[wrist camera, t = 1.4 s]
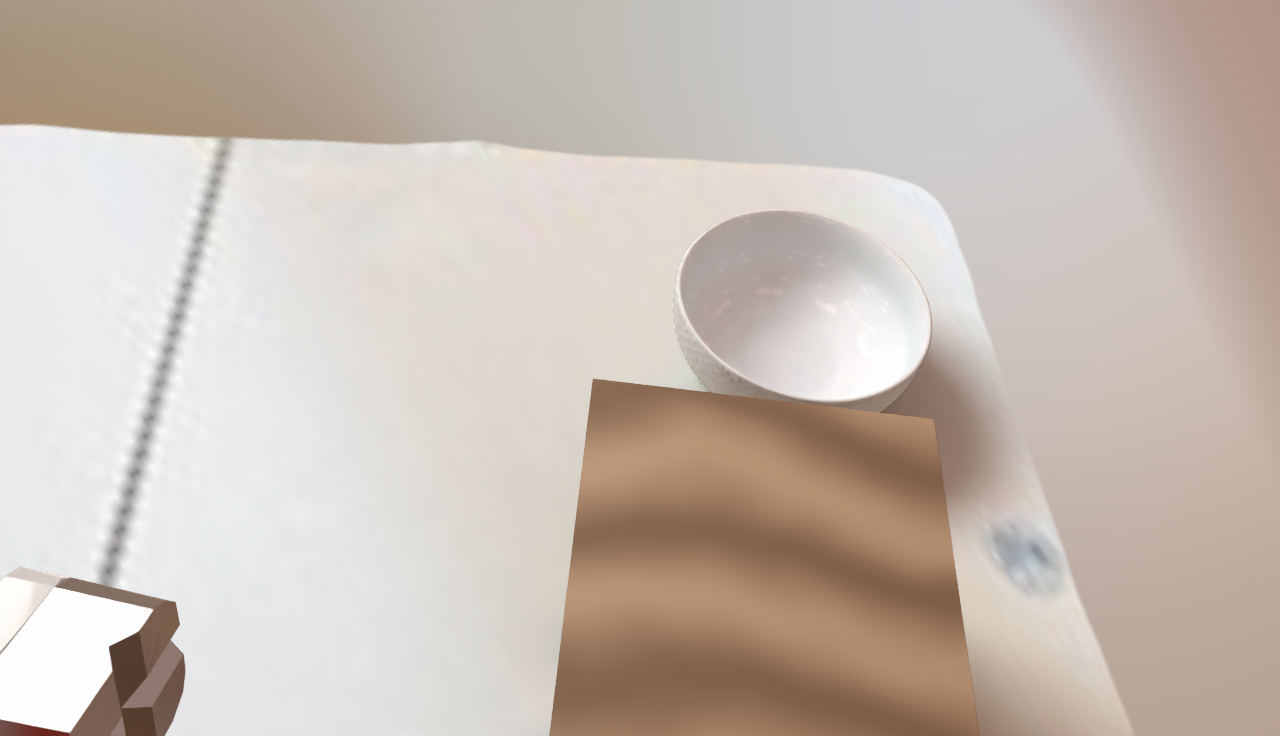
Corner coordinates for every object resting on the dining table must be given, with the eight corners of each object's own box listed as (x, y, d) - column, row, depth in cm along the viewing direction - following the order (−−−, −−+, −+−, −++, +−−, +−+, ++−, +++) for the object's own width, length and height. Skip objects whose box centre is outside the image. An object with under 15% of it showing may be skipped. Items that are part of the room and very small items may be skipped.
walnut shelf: (868, 894, 52) (986, 784, 39) (536, 861, 51) (549, 739, 39) (847, 581, 63) (933, 418, 50) (573, 551, 62) (592, 378, 50)
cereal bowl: (616, 328, 74) (625, 256, 69) (796, 250, 81) (818, 179, 76) (765, 507, 66) (789, 441, 60) (951, 403, 73) (988, 335, 67)
